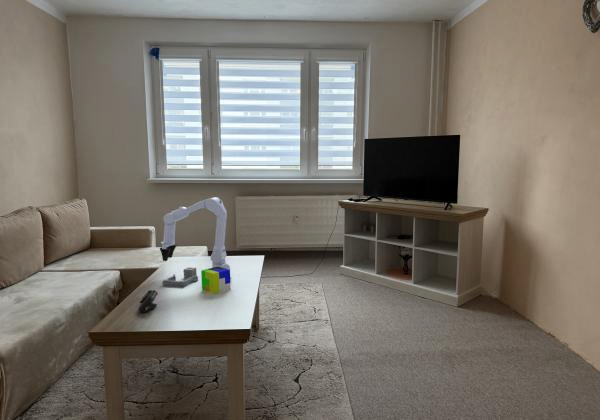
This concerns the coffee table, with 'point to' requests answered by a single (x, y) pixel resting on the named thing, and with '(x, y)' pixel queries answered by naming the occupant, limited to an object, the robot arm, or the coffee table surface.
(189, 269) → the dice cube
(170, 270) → the coffee table surface
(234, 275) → the coffee table surface
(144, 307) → the black angular device
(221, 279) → the puzzle toy
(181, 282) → the chassis bay
